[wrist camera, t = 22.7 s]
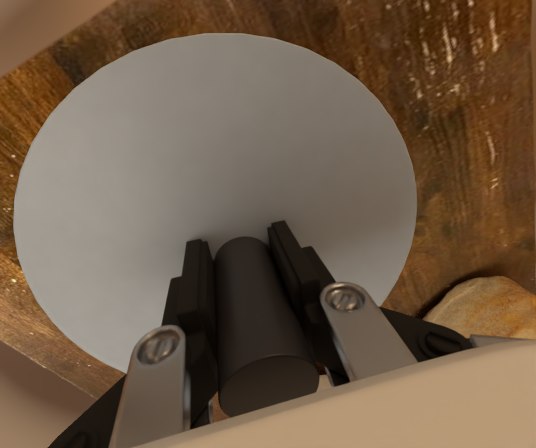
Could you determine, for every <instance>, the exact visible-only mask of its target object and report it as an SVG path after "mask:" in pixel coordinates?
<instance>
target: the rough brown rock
mask: <svg viewBox="0 0 536 448" xmlns="http://www.w3.org/2000/svg"><path fill="white" fill-rule="evenodd" d="M422 320H425V321H428V322H432V323H435V324H438V325H442V326H445V327H447V328H450V329H452V330H455V331H456V332H458V333H460V334H461V335H463V336H464V337H465V338H469V337H470V334H477V335H488V336H500V337H512V338H523V339H535V340H536V296H535V295H534V294H532V293H530V292H529V291H527V290H526V289H524V288H523V287H521V286H520V285H519V284H518V283H516V282H515V281H513V280H511V279H509V278H507V277H504V276H492V277H480V278H474V279H470V280H467V281H465V282H462V283H460V284H458V285H456V286H455V287H454V288H452V289H451V290H450V291H449V292H448V293H447V294H446V295H445V296H444V298H443V299H442V300H441V301H440V302H439V303H438V304H437V305H436V306H435V307H433V308H432V309H431V310H430V311H429V312H428V313H427V314H426V316H425V317H424V318H423V319H422Z"/></svg>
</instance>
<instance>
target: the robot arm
mask: <svg viewBox="0 0 536 448" xmlns="http://www.w3.org/2000/svg"><path fill="white" fill-rule="evenodd" d="M267 232H268V238H269V244H270V250H271V253H272V256H273V258H274V261H275V263H276V266H277V268H278V271H279V273H280V276H281V278H282V281H283V283H284V286H285V288H286V291H287V294H288V296H289V299H290V301H291V304H292V306H293V309H294V311H295V314H296V316H297V319H298V321H299V323H300V326H301V328H302V331H303V333H304V336H305V338H306V341H307V343H308V346H309V348H310V351H311V353H312V356H313V358H314V361H315V362H316V363H318V364H320V365H322V366H324V367H325V370H326V374H327V377H328V379H329V382H330V385H331V388H330V389H326V390H323V391H319V392H316V393H313V394H309V395H306V396H302V397H299V398H296V399H292V400H289V401H286V402H282V403H279V404H275V405H272V406H269V407H265V408H262V409H259V410H255V411H252V412H248V413H245V414H242V415H238V416H235V417H232V418H228V419H225V420H222V421H218V422H215V423H214V422H213V406H212V401H211V399H212V397H213V396H214V395H215V394H216V392H217V391H218V373H217V344H216V341H217V340H216V311H215V282H214V263H213V259H212V256H211V252H210V249H209V245H208V242H207V241H204V242H202V240H201V239H196V240H192V241H187V242H186V248H185V255H184V262H183V269H182V276H179V277H175V278H172V279H171V280H170V284H169V289H168V294H167V299H166V304H165V309H164V314H163V319H162V324H161V326H160V327H158V328H155V329H153V330H151V331H150V332H148V333H146V334H145V335H144V336H143V337H142V338H141V339H140V340H139V341H138V342H137V344H136V345H135V346H134V349H133V351H132V353H131V357H130V361H129V366H128V370H127V374H126V375H125V376H123V377H122V378H121V379H120V380H119V381H118V382H117V383H116V384H115V385H114V386H113V387H111V388H110V389H109V390H108V391H107V392H106V393H105V394H104V395H103V396H102V397H101V398H100V399H98V400H97V401H96V402H95V403H94V404H93V405H92V406H91V407H90V408H89V409H88V410H86V411H85V412H84V413H83V414H82V415H81V416H80V417H79V418H78V419H77V420H76V421H74V422H73V423H72V424H71V425H70V426H69V427H68V428H67V429H66V430H65V431H64V432H62V434H60V435H59V436H58V437H57V438H56V439H55V440H54V441H53V442H52V444H51V445H50V446H49V447H48V448H536V340H535V339H523V338H512V337H500V336H488V335H477V334H470V337H469V338H465V337H464V336H463V335H461V334H460V333H458V332H456V331H455V330H452V329H450V328H447V327H445V326H442V325H438V324H435V323H432V322H428V321H425V320H422V319H419V318H415V317H412V316H409V315H405V314H402V313H399V312H395V311H392V310H389V309H385V308H382V307H379V306H377V305H376V303H375V302H374V300H373V299H372V298H371V296H370V295H369V293H368V292H367V291H366V290H365V289H364V288H363V287H361V286H359V285H357V284H354V283H351V282H336V281H335V279H334V278H333V276H332V275H331V273H330V272H329V270H328V269H327V267H326V266H325V264H324V263H323V262H322V260H321V259H320V257H319V256H318V254H317V253H316V251H315V250H314V248H313V247H312V246H308V247H304V248H301V246H300V245H299V243H298V241H297V240H296V238H295V236H294V235H293V233H292V231H291V230H290V228H289V226H288V225H287V223H286V221H285V220H283V221H278V222H274V223H271V227H267Z"/></svg>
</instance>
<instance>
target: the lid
mask: <svg viewBox="0 0 536 448" xmlns="http://www.w3.org/2000/svg"><path fill="white" fill-rule="evenodd" d="M416 212H417V197H416V183H415V177H414V172H413V166H412V162H411V159H410V156H409V154H408V151H407V148H406V145H405V142H404V140H403V138H402V136H401V134H400V132H399V130H398V128H397V126H396V124H395V122H394V121H393V119H392V118H391V116H390V115H389V114H388V112H387V111H386V110H385V108H384V107H383V106H382V104H381V103H380V101H379V100H378V99H377V98H376V97H375V96H374V95H373V94H372V93H371V92H370V91H369V90H368V89H367V88H366V87H365V86H364V85H363V84H362V83H361V82H360V81H359V80H358V79H357V78H355V77H354V76H352V75H351V74H350V73H348V72H347V71H345V70H344V69H343V68H341V67H340V66H339V65H337V64H336V63H334V62H332V61H330V60H328V59H326V58H324V57H322V56H320V55H318V54H316V53H314V52H312V51H310V50H309V49H306V48H303V47H300V46H297V45H294V44H291V43H288V42H285V41H281V40H278V39H275V38H269V37H262V36H256V35H249V34H243V33H204V34H198V35H192V36H186V37H179V38H173V39H168V40H165V41H162V42H159V43H156V44H153V45H150V46H147V47H144V48H141V49H138V50H135V51H133V52H131V53H129V54H127V55H125V56H123V57H121V58H119V59H117V60H115V61H114V62H112V63H110V64H108V65H106V66H104V67H102V68H101V69H99V70H98V71H97V72H95V73H94V74H93V75H91V76H90V77H89V78H88V79H86V80H85V81H84V82H82V83H81V84H80V85H78V86H77V87H76V88H74V89H73V90H72V91H71V92H70V93H69V95H68V96H67V97H66V98H65V99H64V100H63V101H62V102H61V103H60V104H59V105H58V106H57V107H56V109H55V110H54V111H53V112H52V113H51V114H50V115H49V117H48V118H47V120H46V121H45V123H44V125H43V126H42V128H41V129H40V131H39V132H38V134H37V136H36V137H35V139H34V140H33V142H32V144H31V146H30V149H29V151H28V154H27V156H26V159H25V161H24V163H23V166H22V168H21V171H20V175H19V180H18V185H17V190H16V194H15V199H14V235H15V242H16V248H17V255H18V258H19V261H20V264H21V267H22V270H23V273H24V276H25V279H26V281H27V283H28V285H29V287H30V289H31V291H32V292H33V294H34V296H35V298H36V300H37V302H38V303H39V305H40V306H41V307H42V309H43V310H44V311H45V313H46V314H47V315H48V317H49V318H50V320H51V321H52V322H53V323H54V324H55V325H56V326H57V327H58V328H59V329H60V330H61V331H62V332H63V333H64V334H65V335H66V336H67V337H68V338H69V339H70V340H71V341H73V342H74V343H75V344H76V345H78V346H79V347H80V348H82V349H83V350H84V351H85V352H87V353H88V354H90V355H92V356H93V357H95V358H97V359H98V360H100V361H102V362H103V363H105V364H107V365H109V366H111V367H114V368H116V369H118V370H120V371H122V372H124V373H127V370H128V366H129V361H130V357H131V353H132V351H133V349H134V346H135V345H136V344H137V342H138V341H139V340H140V339H141V338H142V337H143V336H144V335H145V334H146V333H148V332H150V331H151V330H153V329H155V328H158V327H160V326H161V324H162V319H163V314H164V309H165V304H166V299H167V294H168V289H169V284H170V280H171V279H172V278H175V277H179V276H182V269H183V262H184V255H185V248H186V242H187V241H192V240H196V239H201V240H202V242H204V241H207V242H208V245H209V249H210V252H211V256H212V259H213V263H214V282H215V311H216V340H217V341H216V344H217V373H218V400H219V404H220V407H221V409H222V410H223V412H224V413H225V414H226V415H227V416H229V417H230V418H232V417H235V416H238V415H242V414H245V413H248V412H252V411H255V410H259V409H262V408H265V407H269V406H272V405H275V404H279V403H282V402H286V401H289V400H292V399H296V398H299V397H302V396H306V395H309V394H313V393H316V391H317V389H318V386H319V381H320V376H319V371H318V368H317V366H316V363H315V361H314V358H313V356H312V353H311V351H310V348H309V346H308V343H307V341H306V338H305V336H304V333H303V331H302V328H301V326H300V323H299V321H298V319H297V316H296V314H295V311H294V309H293V306H292V304H291V301H290V299H289V296H288V294H287V291H286V288H285V286H284V283H283V281H282V278H281V276H280V273H279V271H278V268H277V266H276V263H275V261H274V258H273V256H272V253H271V250H270V244H269V238H268V232H267V227H271V223H274V222H278V221H283V220H285V221H286V223H287V225H288V226H289V228H290V230H291V231H292V233H293V235H294V236H295V238H296V240H297V241H298V243H299V245H300V246H301V248H304V247H308V246H312V247H313V248H314V250H315V251H316V253H317V254H318V256H319V257H320V259H321V260H322V262H323V263H324V264H325V266H326V267H327V269H328V270H329V272H330V273H331V275H332V276H333V278H334V279H335V281H336V282H351V283H354V284H357V285H359V286H361V287H363V288H364V289H365V290H366V291H367V292H368V293H369V295H370V296H371V298H372V299H373V300H374V302H375V303H376V305H377V306H379V307H380V305H381V304H382V303H383V302H384V300H385V299H386V297H387V296H388V294H389V293H390V291H391V289H392V288H393V286H394V285H395V283H396V281H397V279H398V277H399V275H400V273H401V271H402V269H403V267H404V264H405V261H406V259H407V256H408V253H409V250H410V247H411V243H412V239H413V234H414V230H415V222H416Z"/></svg>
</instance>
